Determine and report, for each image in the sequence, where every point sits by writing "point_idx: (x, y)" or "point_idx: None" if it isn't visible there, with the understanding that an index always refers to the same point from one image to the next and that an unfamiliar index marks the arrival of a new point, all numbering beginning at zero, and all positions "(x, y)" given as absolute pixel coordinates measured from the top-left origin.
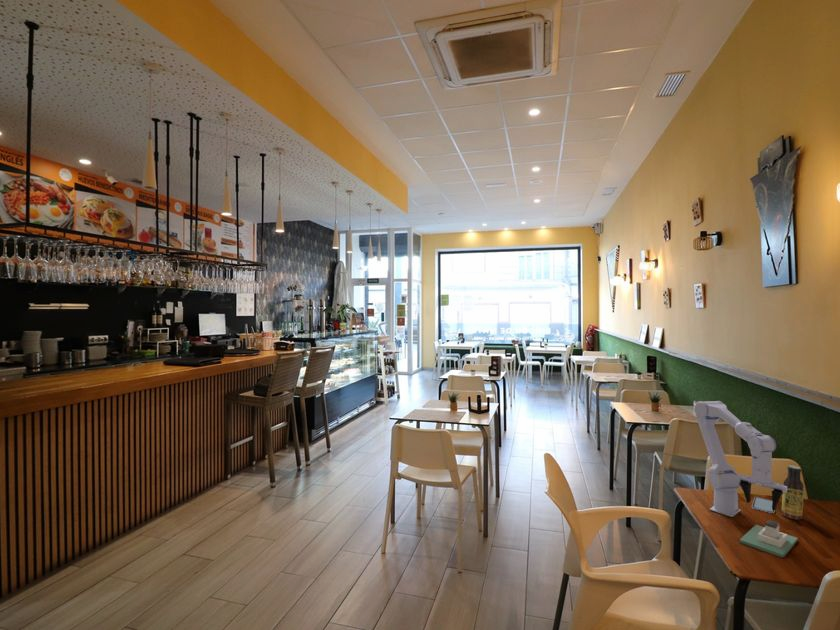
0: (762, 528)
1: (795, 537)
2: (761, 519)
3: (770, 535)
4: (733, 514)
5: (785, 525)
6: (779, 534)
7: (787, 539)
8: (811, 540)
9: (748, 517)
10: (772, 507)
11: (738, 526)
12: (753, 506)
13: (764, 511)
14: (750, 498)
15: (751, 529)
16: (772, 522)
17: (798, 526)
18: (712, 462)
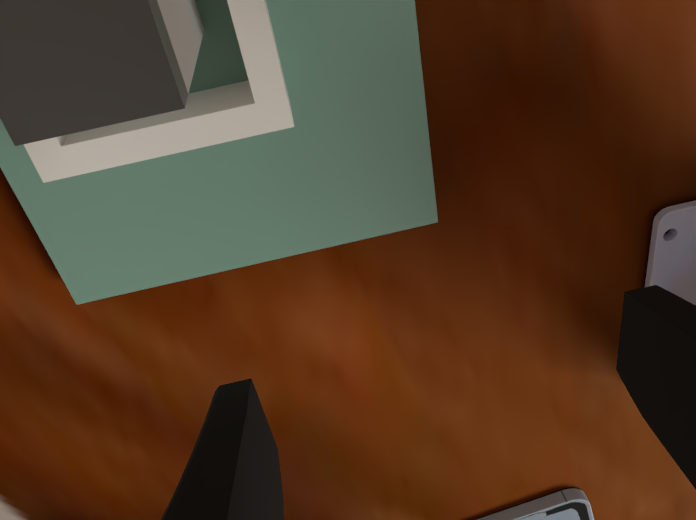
0: (358, 194)
1: (90, 296)
2: (467, 393)
3: None
4: (662, 257)
5: (315, 451)
6: (110, 127)
7: (77, 175)
8: (55, 393)
9: (550, 339)
10: (239, 407)
11: (551, 49)
12: (580, 509)
13: (504, 511)
14: (647, 412)
15: (412, 42)
16: (70, 46)
17: None
18: None
